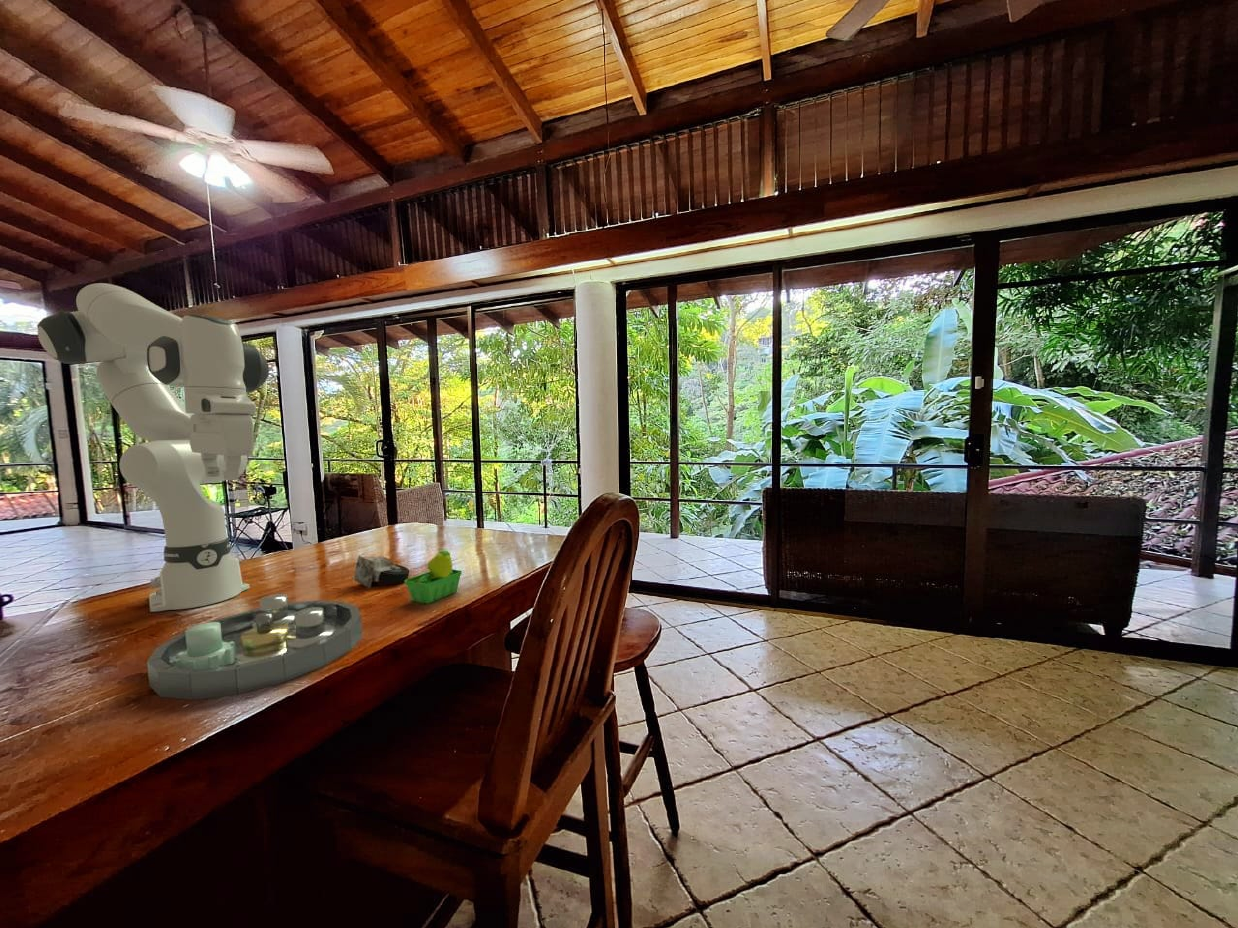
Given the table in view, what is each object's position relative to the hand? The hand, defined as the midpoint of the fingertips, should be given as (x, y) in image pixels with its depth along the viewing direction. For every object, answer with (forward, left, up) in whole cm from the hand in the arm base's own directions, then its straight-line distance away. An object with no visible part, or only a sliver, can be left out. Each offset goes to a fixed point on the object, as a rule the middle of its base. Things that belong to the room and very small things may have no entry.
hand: (221, 478), depth 90 cm
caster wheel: (-9, +35, -32) cm, 48 cm away
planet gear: (+11, -8, -30) cm, 33 cm away
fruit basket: (+14, +35, -32) cm, 49 cm away
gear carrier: (+12, +1, -31) cm, 33 cm away
